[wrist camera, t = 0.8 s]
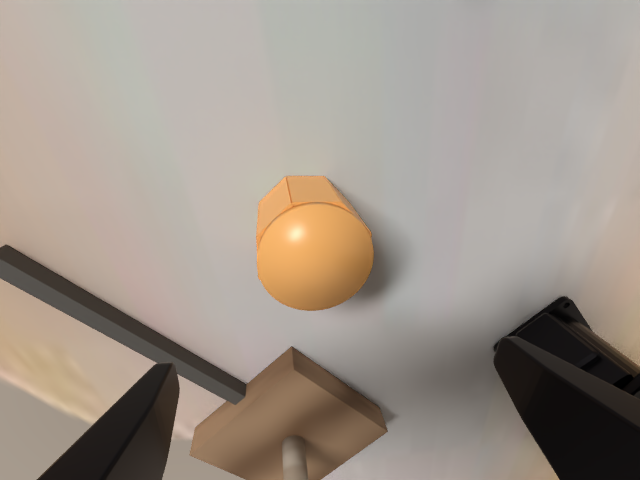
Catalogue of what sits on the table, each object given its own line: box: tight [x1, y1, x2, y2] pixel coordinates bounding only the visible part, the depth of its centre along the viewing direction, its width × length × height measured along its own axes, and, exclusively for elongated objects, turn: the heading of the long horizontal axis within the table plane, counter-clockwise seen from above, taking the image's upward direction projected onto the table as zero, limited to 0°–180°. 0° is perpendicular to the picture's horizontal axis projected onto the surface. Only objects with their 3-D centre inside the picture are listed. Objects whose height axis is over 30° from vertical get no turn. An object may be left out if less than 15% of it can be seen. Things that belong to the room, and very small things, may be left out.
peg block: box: [190, 347, 388, 480], centre depth 22 cm, size 10×10×6 cm
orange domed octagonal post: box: [256, 176, 374, 311], centre depth 16 cm, size 5×5×5 cm
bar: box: [0, 245, 246, 405], centre depth 19 cm, size 16×1×1 cm, turn 43°
